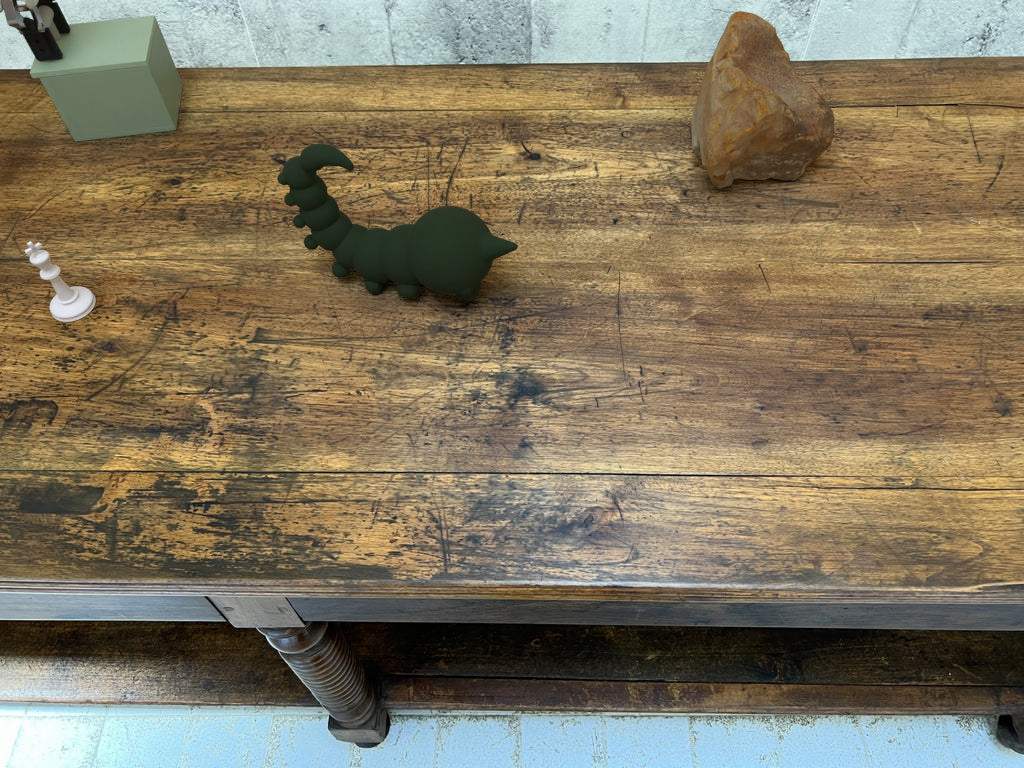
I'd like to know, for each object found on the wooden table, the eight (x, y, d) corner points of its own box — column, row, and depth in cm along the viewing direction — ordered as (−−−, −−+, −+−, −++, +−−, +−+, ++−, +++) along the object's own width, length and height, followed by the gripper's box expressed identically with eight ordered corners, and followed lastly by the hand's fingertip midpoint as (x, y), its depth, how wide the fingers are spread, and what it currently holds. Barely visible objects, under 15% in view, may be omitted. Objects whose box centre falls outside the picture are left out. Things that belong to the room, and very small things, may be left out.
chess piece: (104, 304, 94) (62, 241, 86) (65, 329, 92) (18, 267, 84) (82, 283, 96) (39, 220, 88) (43, 307, 94) (-4, 244, 86)
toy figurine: (310, 302, 95) (514, 332, 89) (250, 172, 80) (490, 196, 74) (341, 246, 101) (537, 270, 94) (290, 114, 86) (519, 132, 79)
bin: (75, 142, 111) (39, 78, 103) (87, 95, 118) (54, 32, 110) (176, 130, 112) (148, 66, 104) (183, 84, 118) (157, 21, 110)
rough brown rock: (815, 234, 98) (866, 129, 86) (678, 208, 99) (710, 102, 87) (812, 119, 112) (856, 15, 100) (692, 98, 113) (721, -7, 101)
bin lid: (32, 78, 103) (11, 41, 99) (47, 32, 110) (28, -5, 105) (148, 66, 104) (131, 28, 100) (157, 20, 110) (142, -17, 106)
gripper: (-40, -134, 96) (37, 13, 111) (-80, -63, 86) (11, 88, 101) (25, -141, 96) (94, 7, 111) (-7, -71, 86) (73, 81, 101)
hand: (54, 44), depth 106 cm, fingers closed on bin lid, 5 cm apart
